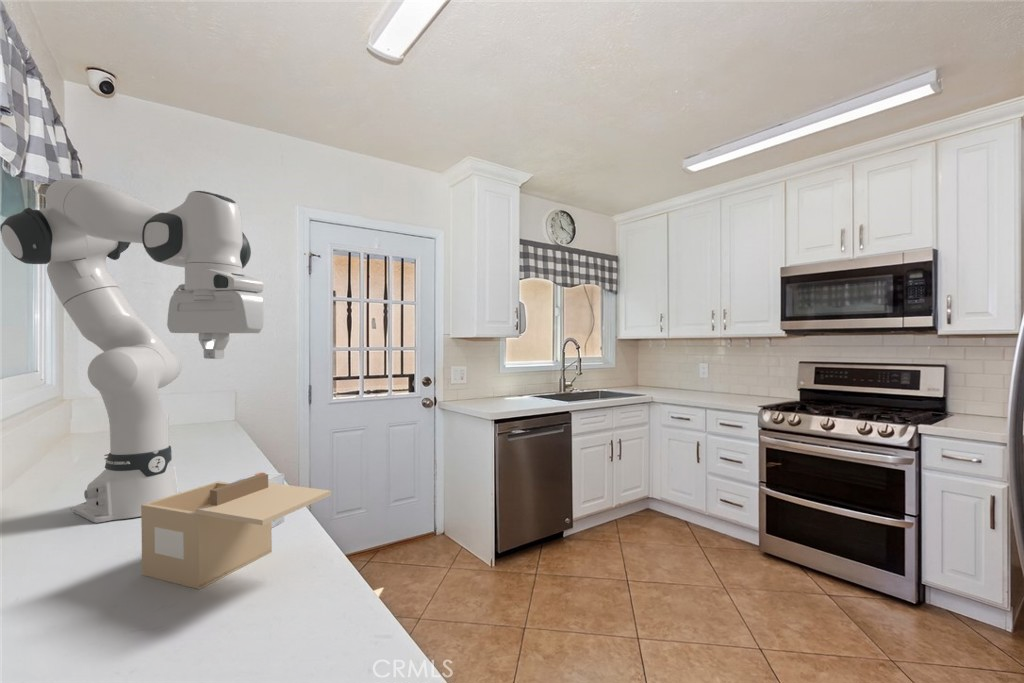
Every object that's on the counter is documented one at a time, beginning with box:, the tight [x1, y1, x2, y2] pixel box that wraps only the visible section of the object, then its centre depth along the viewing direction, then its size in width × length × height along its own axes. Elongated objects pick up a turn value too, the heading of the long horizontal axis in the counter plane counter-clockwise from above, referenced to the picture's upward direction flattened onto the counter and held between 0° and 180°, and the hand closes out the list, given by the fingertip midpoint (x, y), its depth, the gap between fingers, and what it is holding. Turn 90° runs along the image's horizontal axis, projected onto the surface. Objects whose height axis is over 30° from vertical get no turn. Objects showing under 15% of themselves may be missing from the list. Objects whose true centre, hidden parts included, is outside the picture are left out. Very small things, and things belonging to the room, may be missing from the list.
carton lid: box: [195, 474, 332, 526], centre depth 79 cm, size 14×14×3 cm
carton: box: [140, 481, 273, 590], centre depth 84 cm, size 14×14×12 cm
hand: (213, 358), depth 85 cm, fingers closed
